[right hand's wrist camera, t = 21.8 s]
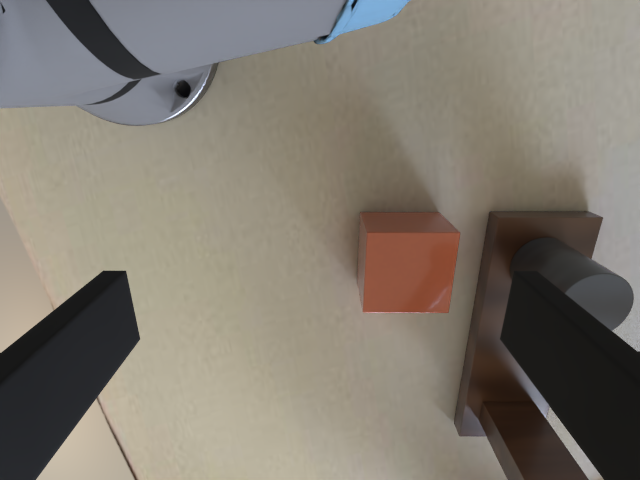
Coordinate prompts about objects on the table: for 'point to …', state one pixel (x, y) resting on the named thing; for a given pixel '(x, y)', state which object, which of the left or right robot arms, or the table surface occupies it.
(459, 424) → the walnut stand
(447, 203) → the table surface
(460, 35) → the table surface
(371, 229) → the terracotta cap
